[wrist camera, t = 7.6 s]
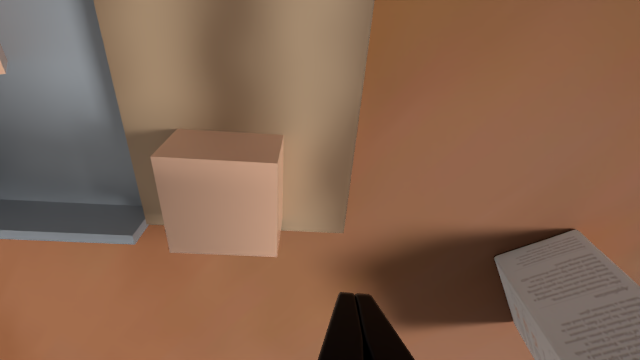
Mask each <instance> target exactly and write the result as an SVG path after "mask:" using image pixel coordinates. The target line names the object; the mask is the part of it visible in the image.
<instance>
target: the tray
mask: <svg viewBox="0 0 640 360" xmlns="http://www.w3.org/2000/svg"><path fill="white" fill-rule="evenodd" d="M0 43H1V46H2V48H3V51H4V53H5V56H6V58H7V61H8V62H7V70H6V74H0V239H18V240H42V241H65V242H89V243H113V244H136V242H137V241H138V239H139V238H140V236H141V235H142V234H143V232H144V231H145V229H146V228H147V226H148V225H149V224H146V220H145V216H144V211H143V207H142V203H141V199H140V195H139V190H138V186H137V182H136V178H135V174H134V169H133V165H132V161H131V157H130V152H129V148H128V144H127V140H126V136H125V131H124V127H123V123H122V119H121V115H120V110H119V106H118V102H117V98H116V94H115V89H114V85H113V81H112V77H111V73H110V68H109V64H108V60H107V56H106V52H105V47H104V43H103V39H102V35H101V31H100V26H99V22H98V18H97V14H96V10H95V5H94V1H93V0H0Z"/></svg>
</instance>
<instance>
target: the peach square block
mask: <svg viewBox="0 0 640 360" xmlns="http://www.w3.org/2000/svg"><path fill="white" fill-rule="evenodd" d="M283 140H284V135H277V134H259V133H242V132H225V131H208V130H191V129H177V130H176V131H175V132H174V133H173V134H172V135H171V136H170V137H169V138H168V139H167V140H166V141H165V142H164V143H163V144H162V145H161V146H160V147H159V148H158V149H157V150H156V151H155V152H154V153H153V154H152V155H151V156H150V158H151V162H152V167H153V172H154V177H155V182H156V187H157V192H158V197H159V201H160V206H161V211H162V216H163V221H164V226H165V231H166V236H167V240H168V245H169V250H170V253H193V254H218V255H242V256H266V257H277V253H278V246H279V239H280V232H281V225H282V204H283Z"/></svg>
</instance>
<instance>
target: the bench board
mask: <svg viewBox="0 0 640 360" xmlns="http://www.w3.org/2000/svg"><path fill="white" fill-rule="evenodd" d="M93 1H94V5H95V10H96V14H97V18H98V22H99V26H100V31H101V35H102V39H103V43H104V47H105V52H106V56H107V60H108V64H109V68H110V73H111V77H112V81H113V85H114V89H115V94H116V98H117V102H118V106H119V110H120V115H121V119H122V123H123V127H124V131H125V136H126V140H127V144H128V148H129V152H130V157H131V161H132V165H133V169H134V174H135V178H136V182H137V186H138V190H139V195H140V199H141V203H142V207H143V211H144V216H145V220H146V224H150V225H164V221H163V216H162V211H161V206H160V201H159V197H158V192H157V187H156V182H155V177H154V172H153V167H152V162H151V158H150V156H151V155H152V154H153V153H154V152H155V151H156V150H157V149H158V148H159V147H160V146H161V145H162V144H163V143H164V142H165V141H166V140H167V139H168V138H169V137H170V136H171V135H172V134H173V133H174V132H175V131H176V130H177V129H191V130H208V131H225V132H242V133H259V134H277V135H284V140H283V204H282V225H281V230H283V231H305V232H327V233H344V226H345V219H346V211H347V204H348V196H349V189H350V181H351V174H352V166H353V159H354V151H355V143H356V136H357V128H358V121H359V113H360V106H361V98H362V91H363V83H364V76H365V68H366V61H367V53H368V45H369V38H370V30H371V23H372V15H373V8H374V0H93Z"/></svg>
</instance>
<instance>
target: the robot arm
mask: <svg viewBox="0 0 640 360" xmlns="http://www.w3.org/2000/svg"><path fill="white" fill-rule="evenodd" d="M318 360H415V359H414V358H413V356H412V355H411V354H410V352H409V351H408V349H407V348H406V346H405V345H404V343H403V342H402V340H401V339H400V337H399V336H398V334H397V333H396V331H395V330H394V328H393V327H392V326H391V324H390V323H389V321H388V320H387V318H386V317H385V315H384V314H383V312H382V311H381V309H380V308H379V306H378V305H377V303H376V302H375V300H374V299H373V298H372V296H371V295H369V294H360V293H357V294H355V295H354V294H353V293H346V292H340V293H339V295H338V298H337V301H336V304H335V307H334V310H333V313H332V316H331V320H330V323H329V326H328V329H327V332H326V335H325V339H324V342H323V345H322V348H321V351H320V354H319V357H318Z"/></svg>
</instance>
